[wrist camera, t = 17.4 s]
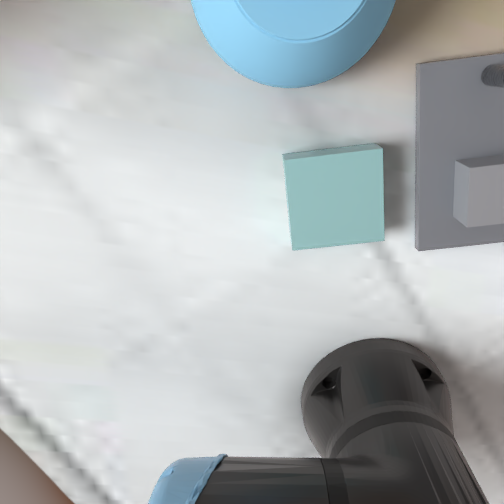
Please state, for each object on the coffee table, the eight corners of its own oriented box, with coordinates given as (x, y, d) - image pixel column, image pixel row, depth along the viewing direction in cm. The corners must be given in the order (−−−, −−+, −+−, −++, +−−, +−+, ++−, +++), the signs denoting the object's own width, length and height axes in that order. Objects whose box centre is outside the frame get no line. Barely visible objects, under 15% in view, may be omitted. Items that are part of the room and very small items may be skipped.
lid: (376, 229, 44) (384, 240, 41) (290, 238, 45) (292, 250, 42) (374, 142, 41) (382, 148, 38) (282, 153, 42) (284, 160, 39)
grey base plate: (535, 233, 44) (561, 250, 40) (415, 247, 44) (429, 264, 41) (556, 45, 38) (589, 44, 34) (416, 63, 38) (433, 64, 35)
